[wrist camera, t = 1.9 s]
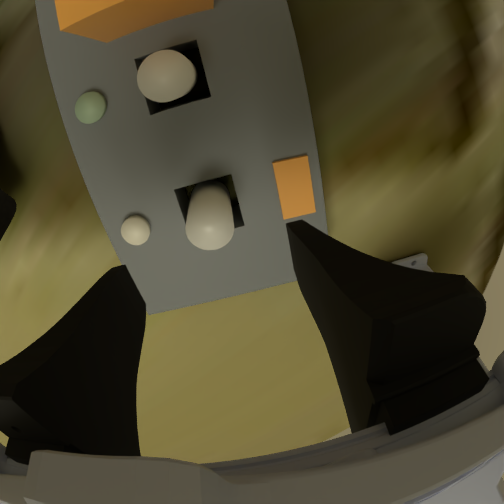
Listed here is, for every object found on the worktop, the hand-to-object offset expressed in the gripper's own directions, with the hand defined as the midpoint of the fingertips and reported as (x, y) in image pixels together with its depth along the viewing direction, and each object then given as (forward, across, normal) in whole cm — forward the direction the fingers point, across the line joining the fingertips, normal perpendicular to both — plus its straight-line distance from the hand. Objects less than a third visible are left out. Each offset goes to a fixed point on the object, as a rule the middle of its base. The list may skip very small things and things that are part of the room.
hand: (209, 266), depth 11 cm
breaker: (+7, 0, -7) cm, 10 cm away
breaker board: (+8, 0, -5) cm, 10 cm away
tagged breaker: (+7, 0, 0) cm, 7 cm away
